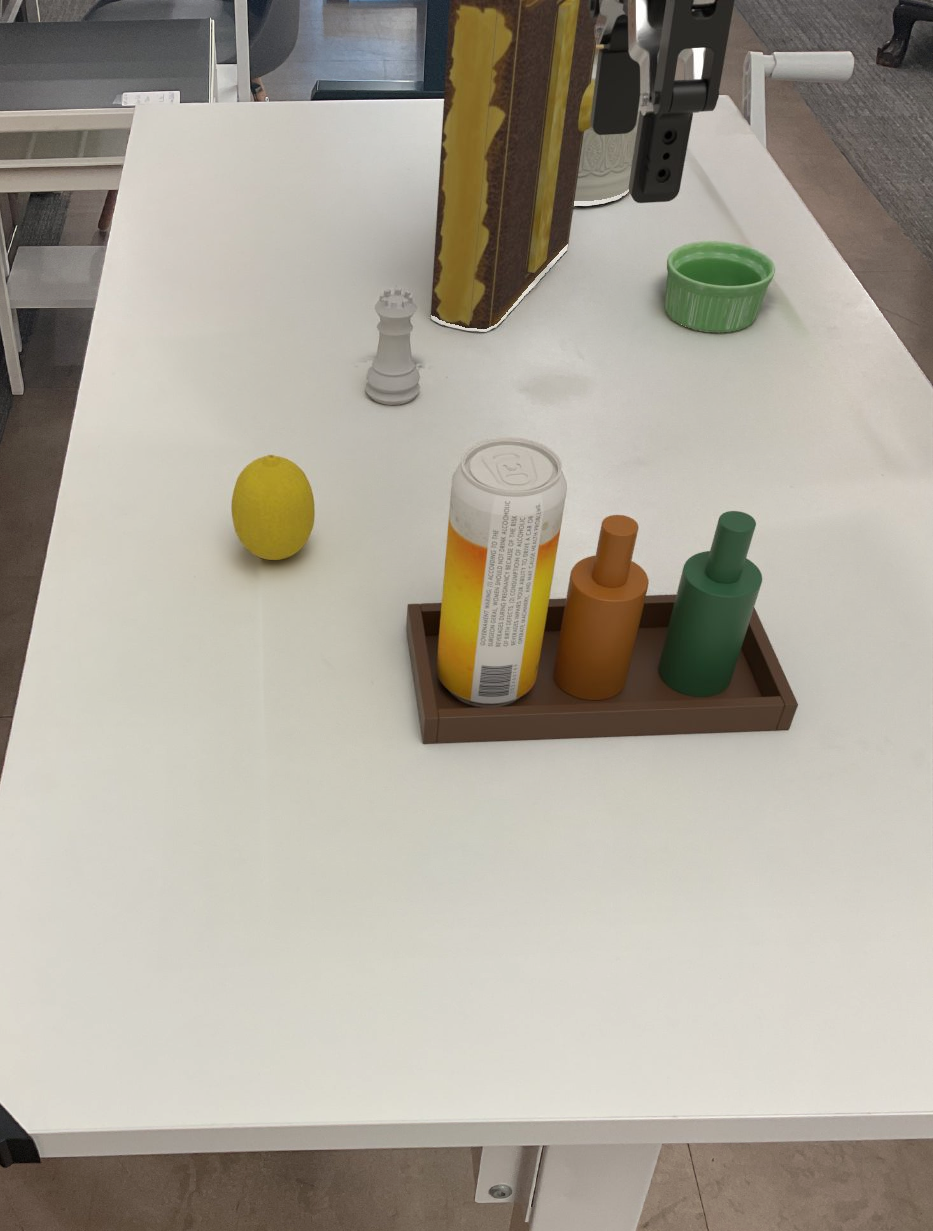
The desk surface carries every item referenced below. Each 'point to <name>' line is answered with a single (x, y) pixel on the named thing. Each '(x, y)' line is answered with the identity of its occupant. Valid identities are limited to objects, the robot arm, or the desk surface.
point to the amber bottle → (602, 615)
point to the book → (508, 149)
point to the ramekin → (716, 285)
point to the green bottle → (712, 611)
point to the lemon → (273, 508)
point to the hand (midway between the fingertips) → (630, 163)
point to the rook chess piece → (394, 351)
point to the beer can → (499, 569)
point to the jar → (604, 160)
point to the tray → (635, 711)
